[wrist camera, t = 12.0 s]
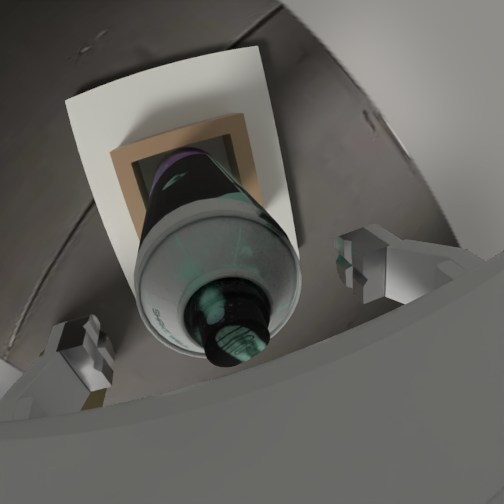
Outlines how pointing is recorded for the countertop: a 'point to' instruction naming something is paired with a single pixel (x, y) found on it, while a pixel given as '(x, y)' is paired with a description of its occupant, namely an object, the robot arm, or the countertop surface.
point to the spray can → (212, 263)
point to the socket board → (178, 138)
